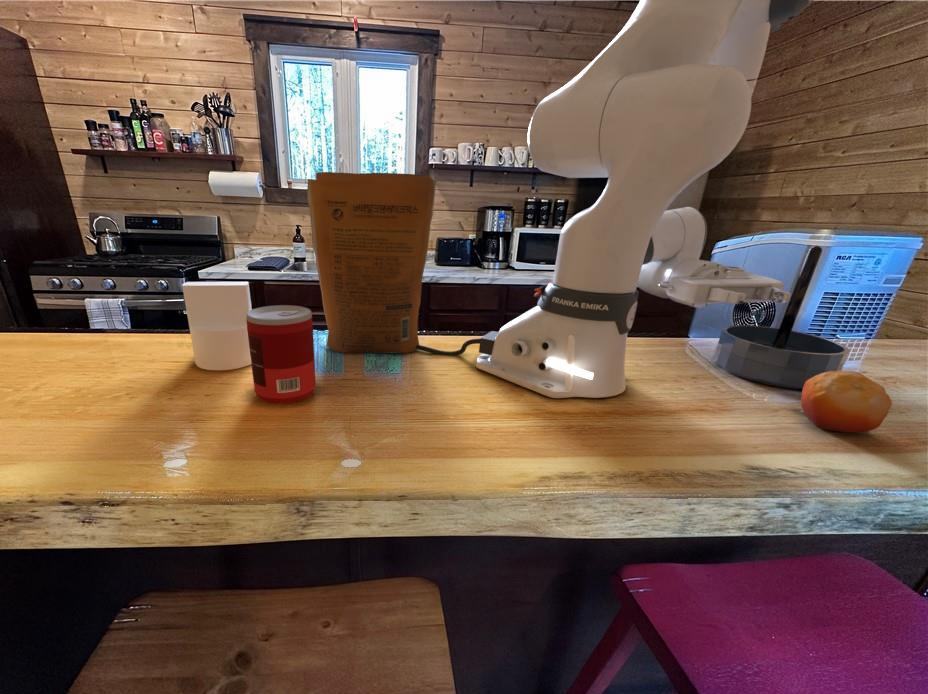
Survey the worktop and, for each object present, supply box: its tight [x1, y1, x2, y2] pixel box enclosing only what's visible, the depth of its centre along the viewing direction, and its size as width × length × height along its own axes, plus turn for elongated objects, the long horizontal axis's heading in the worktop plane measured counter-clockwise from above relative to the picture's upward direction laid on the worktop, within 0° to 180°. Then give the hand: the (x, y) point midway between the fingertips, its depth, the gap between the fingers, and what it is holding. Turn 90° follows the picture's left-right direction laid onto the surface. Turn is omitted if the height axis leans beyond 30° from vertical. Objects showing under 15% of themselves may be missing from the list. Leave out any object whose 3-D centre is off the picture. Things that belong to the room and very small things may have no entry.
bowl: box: [712, 324, 850, 390], centre depth 72 cm, size 16×16×6 cm
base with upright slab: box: [181, 281, 253, 371], centre depth 66 cm, size 9×9×12 cm
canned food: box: [246, 304, 317, 405], centre depth 56 cm, size 8×8×11 cm
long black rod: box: [772, 245, 823, 349], centre depth 69 cm, size 5×5×20 cm
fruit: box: [800, 370, 893, 434], centre depth 54 cm, size 8×8×8 cm
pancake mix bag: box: [306, 171, 437, 355], centre depth 70 cm, size 7×19×28 cm, turn 93°
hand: (764, 298), depth 73 cm, fingers open, 8 cm apart
